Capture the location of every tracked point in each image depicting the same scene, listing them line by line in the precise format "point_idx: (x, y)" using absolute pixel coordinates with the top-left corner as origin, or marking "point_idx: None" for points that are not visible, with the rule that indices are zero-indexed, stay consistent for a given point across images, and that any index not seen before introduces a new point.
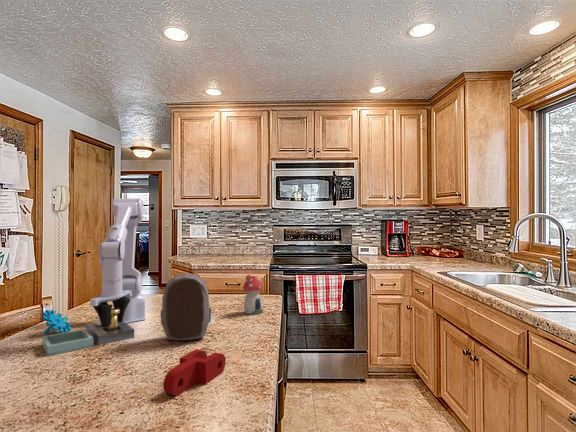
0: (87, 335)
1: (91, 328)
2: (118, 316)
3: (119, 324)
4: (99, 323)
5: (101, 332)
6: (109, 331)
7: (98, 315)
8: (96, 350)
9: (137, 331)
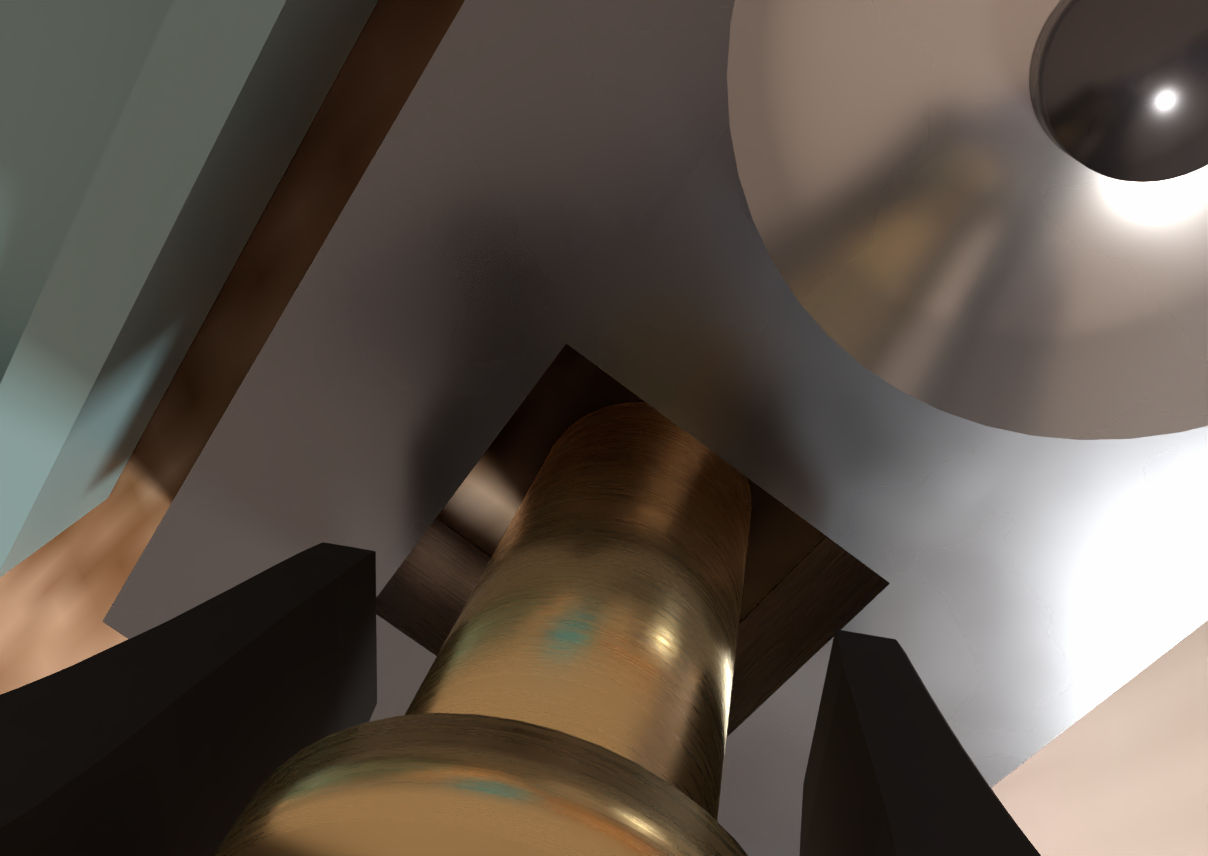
0: (33, 358)
1: (492, 1)
2: (825, 844)
3: (1026, 556)
4: (730, 109)
5: (305, 526)
6: (426, 646)
7: (19, 699)
8: (23, 646)
9: (1096, 781)
